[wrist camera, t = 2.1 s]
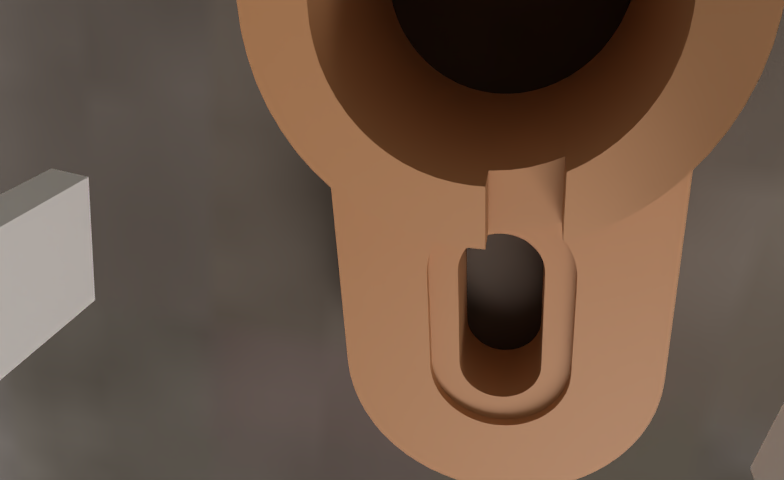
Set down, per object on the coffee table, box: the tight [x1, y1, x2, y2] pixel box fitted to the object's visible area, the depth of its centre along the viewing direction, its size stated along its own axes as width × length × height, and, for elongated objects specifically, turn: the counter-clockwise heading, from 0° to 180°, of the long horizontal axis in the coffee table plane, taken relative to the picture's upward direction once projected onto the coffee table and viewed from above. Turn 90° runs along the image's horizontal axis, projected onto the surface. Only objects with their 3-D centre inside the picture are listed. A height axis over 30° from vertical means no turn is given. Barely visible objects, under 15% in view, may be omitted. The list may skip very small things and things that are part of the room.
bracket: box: [237, 0, 784, 480], centre depth 16 cm, size 18×8×7 cm, turn 4°
